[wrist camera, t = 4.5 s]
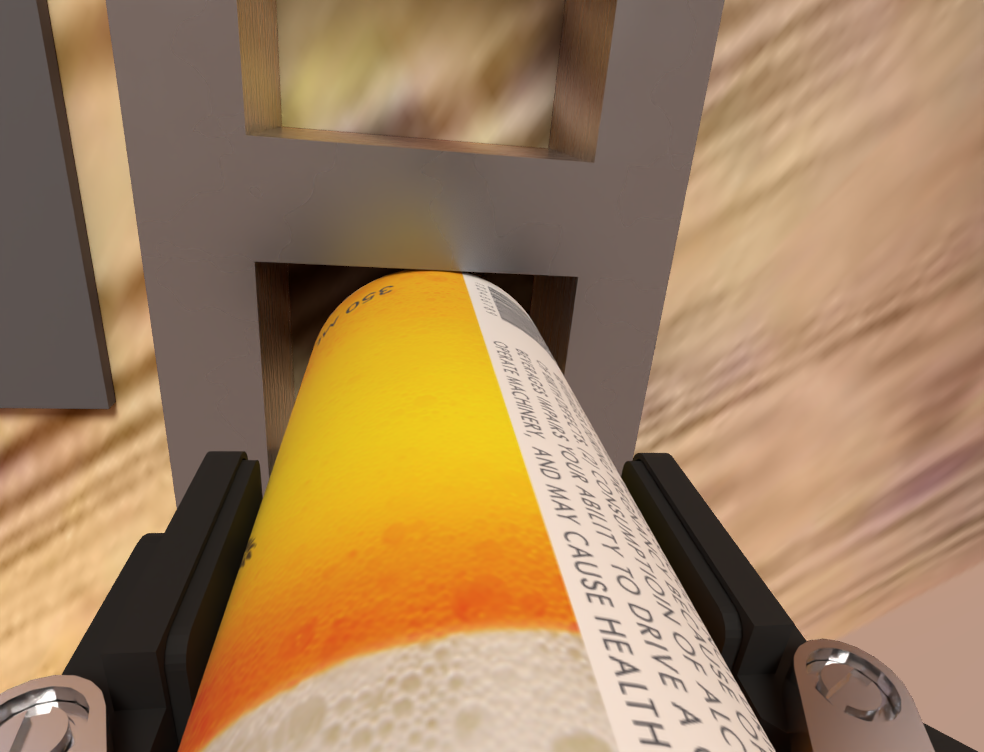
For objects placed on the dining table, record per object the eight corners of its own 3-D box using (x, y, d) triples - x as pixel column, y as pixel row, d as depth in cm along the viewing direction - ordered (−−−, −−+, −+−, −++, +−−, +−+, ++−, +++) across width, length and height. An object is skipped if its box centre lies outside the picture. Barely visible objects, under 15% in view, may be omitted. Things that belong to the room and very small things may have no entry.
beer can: (270, 402, 16) (-329, 1852, 3) (394, 210, 15) (322, 1499, 1) (458, 498, 19) (612, 1603, 5) (585, 339, 17) (1323, 1347, 3)
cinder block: (145, -332, 13) (31, -532, 9) (684, -229, 15) (795, -352, 11) (226, 483, 21) (186, 576, 17) (572, 480, 23) (611, 562, 19)
